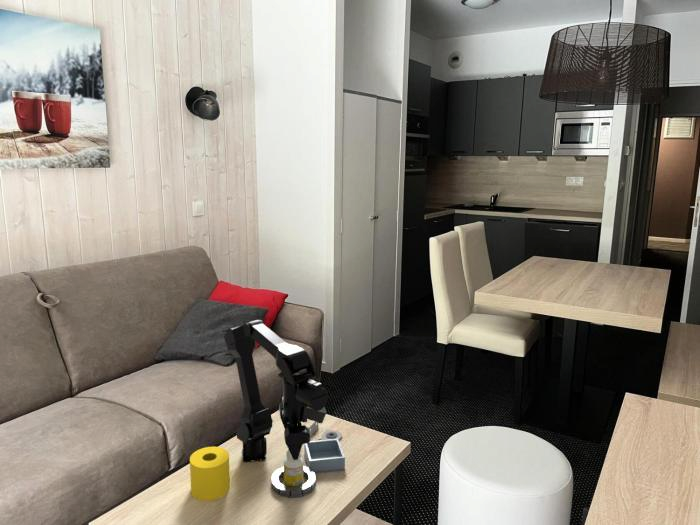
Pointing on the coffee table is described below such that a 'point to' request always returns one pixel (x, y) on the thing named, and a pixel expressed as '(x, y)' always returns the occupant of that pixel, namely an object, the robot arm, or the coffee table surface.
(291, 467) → the supplement bottle
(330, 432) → the bracket
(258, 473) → the coffee table surface
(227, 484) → the yellow paper roll
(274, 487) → the socket ring
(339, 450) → the bin
